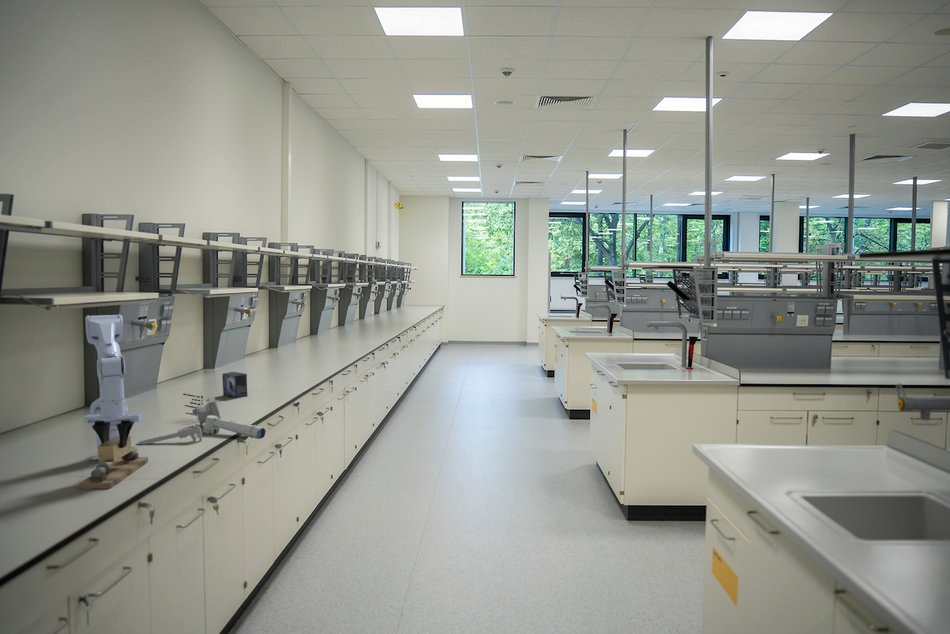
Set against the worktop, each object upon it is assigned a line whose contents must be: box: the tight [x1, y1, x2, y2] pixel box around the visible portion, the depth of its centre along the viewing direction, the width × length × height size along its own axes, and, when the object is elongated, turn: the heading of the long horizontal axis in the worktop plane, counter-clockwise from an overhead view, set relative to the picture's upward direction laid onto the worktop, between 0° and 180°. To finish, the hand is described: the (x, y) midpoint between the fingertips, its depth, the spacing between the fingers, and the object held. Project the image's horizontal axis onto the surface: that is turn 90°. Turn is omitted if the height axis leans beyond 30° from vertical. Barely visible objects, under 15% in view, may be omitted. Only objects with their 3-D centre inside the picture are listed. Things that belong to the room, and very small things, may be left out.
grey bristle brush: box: [182, 393, 222, 428], centre depth 229 cm, size 27×11×10 cm, turn 59°
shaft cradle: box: [78, 446, 149, 490], centre depth 171 cm, size 22×8×6 cm, turn 5°
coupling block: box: [98, 435, 132, 463], centre depth 170 cm, size 10×4×4 cm, turn 5°
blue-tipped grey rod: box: [201, 415, 267, 440], centre depth 212 cm, size 5×7×25 cm
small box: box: [222, 371, 248, 399], centre depth 278 cm, size 11×6×10 cm, turn 54°
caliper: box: [136, 423, 203, 445], centre depth 203 cm, size 20×1×6 cm, turn 102°
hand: (114, 447), depth 170 cm, fingers closed on coupling block, 4 cm apart
